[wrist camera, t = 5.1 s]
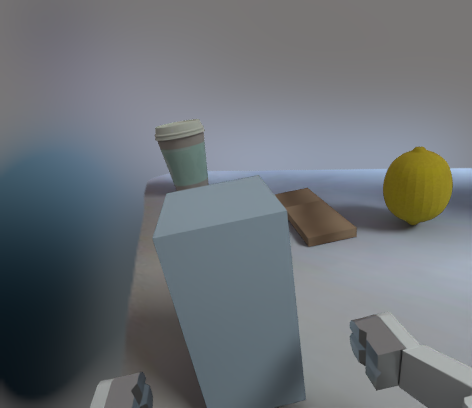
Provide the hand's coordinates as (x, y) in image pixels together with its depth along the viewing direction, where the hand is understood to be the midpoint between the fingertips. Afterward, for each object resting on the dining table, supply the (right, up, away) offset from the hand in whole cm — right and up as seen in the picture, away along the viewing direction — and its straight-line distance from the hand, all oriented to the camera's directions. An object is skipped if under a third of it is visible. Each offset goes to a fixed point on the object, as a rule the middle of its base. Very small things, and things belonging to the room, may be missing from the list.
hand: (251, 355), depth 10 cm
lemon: (+17, +4, +17) cm, 25 cm away
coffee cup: (-8, +8, +40) cm, 42 cm away
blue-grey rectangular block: (0, -4, +6) cm, 7 cm away
